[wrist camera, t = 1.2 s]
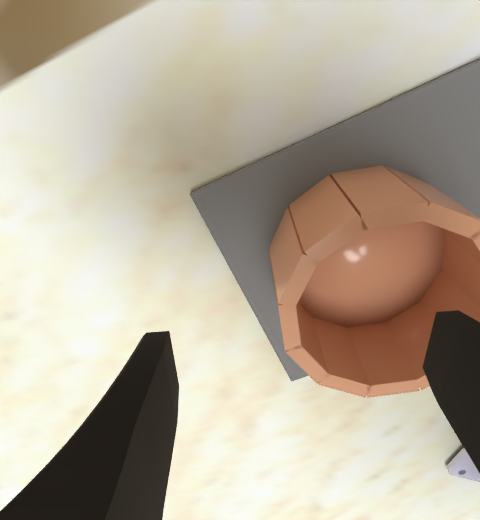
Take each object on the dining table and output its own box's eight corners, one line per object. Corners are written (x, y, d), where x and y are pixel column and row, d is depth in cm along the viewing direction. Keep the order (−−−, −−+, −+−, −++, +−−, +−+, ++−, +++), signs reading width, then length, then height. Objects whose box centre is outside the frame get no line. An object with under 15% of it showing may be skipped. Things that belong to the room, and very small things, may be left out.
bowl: (487, 205, 19) (563, 252, 15) (392, 345, 23) (429, 414, 19) (317, 139, 18) (343, 169, 13) (245, 300, 22) (247, 364, 17)
